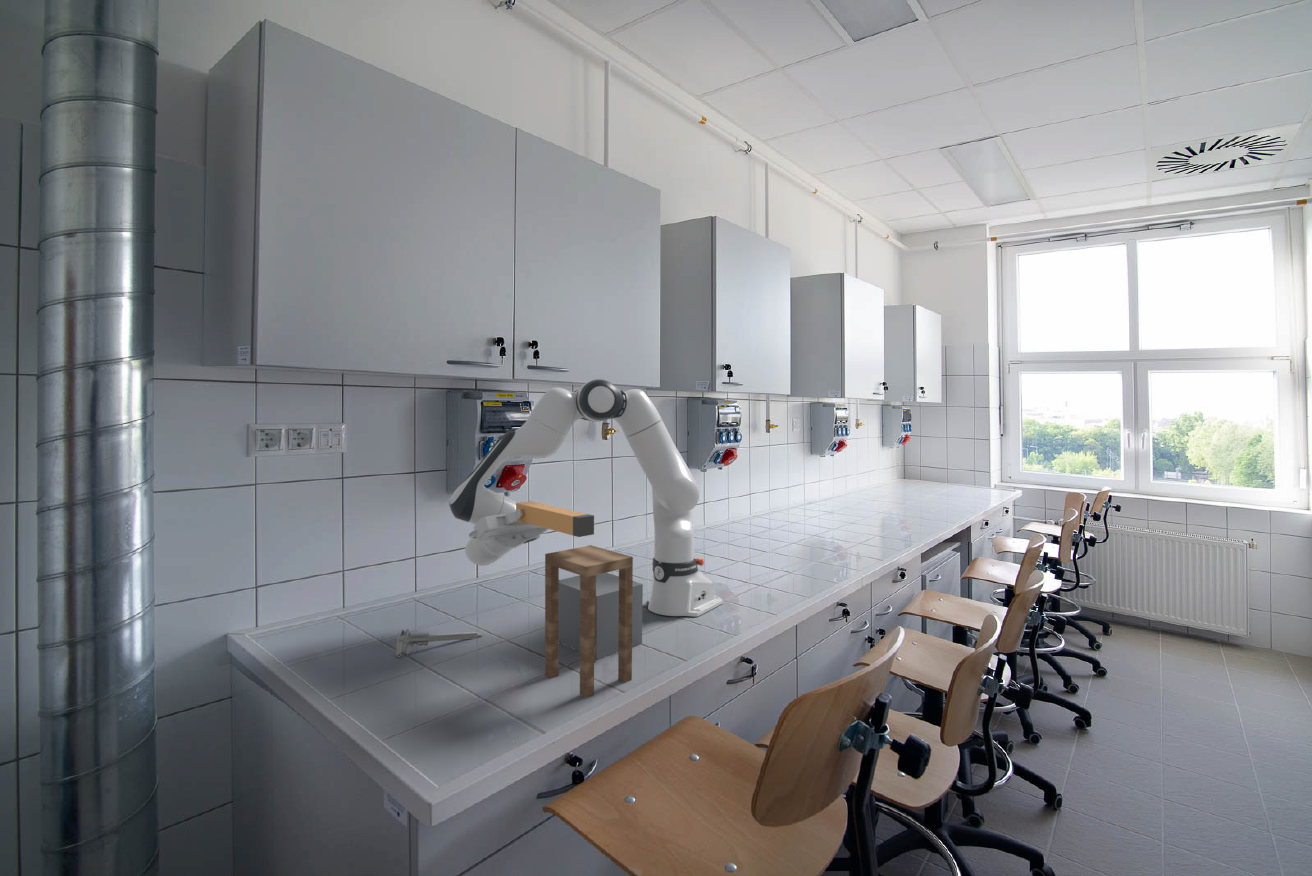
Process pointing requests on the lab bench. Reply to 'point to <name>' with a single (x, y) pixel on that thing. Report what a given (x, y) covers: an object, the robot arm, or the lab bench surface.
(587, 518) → the capped wooden beam
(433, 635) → the caliper
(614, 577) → the crate
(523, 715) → the lab bench surface
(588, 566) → the wooden bar stool
